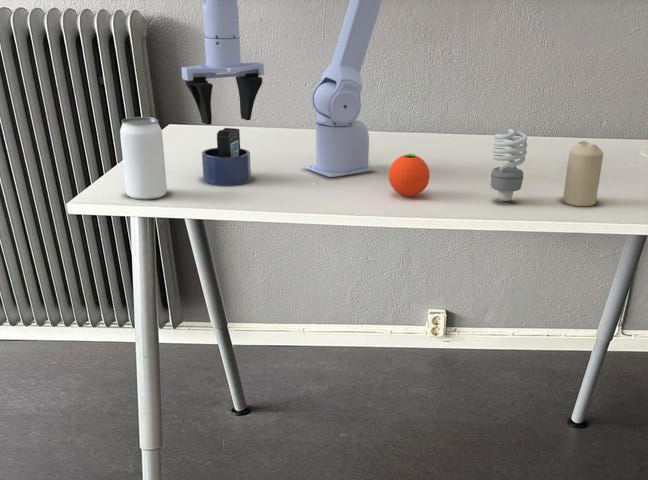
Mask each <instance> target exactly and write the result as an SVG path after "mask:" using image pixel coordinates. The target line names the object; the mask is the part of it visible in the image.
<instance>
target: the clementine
mask: <svg viewBox="0 0 648 480" xmlns="http://www.w3.org/2000/svg"><path fill="white" fill-rule="evenodd" d="M430 176H431V175H430V169H429V166H428V164H427V163H426V161H425V160H424V159H423V158H422V157H420V156H418V155H416V153H406V154H403V155H400V156H399V157H398V158H396V159H395V160H394V161H393V162H392V163H391V165H390V168H389V171H388V181H389V184H390V186H391V188H392V189H393V190H394V191H395V192H396V193H397V194H399V195H400V196H403V197H409V198H410V197H415V196H417V195H419V194H421V193H422V192H423V191H424V190H426V188H427V187H428V184H429V183H430Z"/></svg>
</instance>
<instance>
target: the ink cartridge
mask: <svg viewBox="0 0 648 480" xmlns="http://www.w3.org/2000/svg"><path fill="white" fill-rule="evenodd" d="M240 134H241V133H240V128H234V127H224V128H223V129H219V130H218V131H217V132H216V148H217V149H218V157H236V156H241V154H240V148H241V137H240V136H241V135H240Z"/></svg>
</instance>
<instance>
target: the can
mask: <svg viewBox="0 0 648 480" xmlns="http://www.w3.org/2000/svg"><path fill="white" fill-rule="evenodd" d="M119 136H120V146H121V147H120V148H121V156H122V166H123V174H124V185H125V193H126V195H127V196H128V197H129V198H131V199H135V200H140V201H141V200H142V201H146V200H148V201H149V200H156V199H161V198H163V197H165V196H166V194H167V192H168V185H167V175H166V174H167V173H166V161H165V152H164V149H165V148H164V137H163V130H162V128H161V126H160V124H159V119H158V118H155V117H148V116H135V117H132V116H131V117H127V118H126V117H125V118H123V119H121V126H120V129H119Z"/></svg>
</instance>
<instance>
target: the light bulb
mask: <svg viewBox="0 0 648 480" xmlns="http://www.w3.org/2000/svg"><path fill="white" fill-rule="evenodd" d="M494 139H495V140H493V142H492V145H493V146H494V147H493V148H492V150H491V151H492V153H493V155H492V156H491V157H492V160H494V161H498V162H499V161H500V162H501V161H502V162H504V163H503V164H501V165H500V166H497V167H494V168H492V169H491V172H490V187H491V188H492V189H493V190H495V191H497V198H498V199H499V200H500V201H501V202H503V203H507V202H509V201H510V200H511V199H513V195H514V192H518V191H520V190H521V189H522V186H523V181H524V171H523V169H520V168H518V166H520V165H522V164H524V163H525V161H526V155H527V154H528V150H527V148H528V142H527V141H528V135H527V134H526V133H524V132H521V131H519V130H515V129H512V128H508V129H507V133H506V134H505V133H504V134H503V133H496V134H494ZM504 140H508V141H504ZM504 147H505V148H504ZM506 147H507V148H506ZM515 160H516V161H515ZM505 161H506V162H505Z"/></svg>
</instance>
